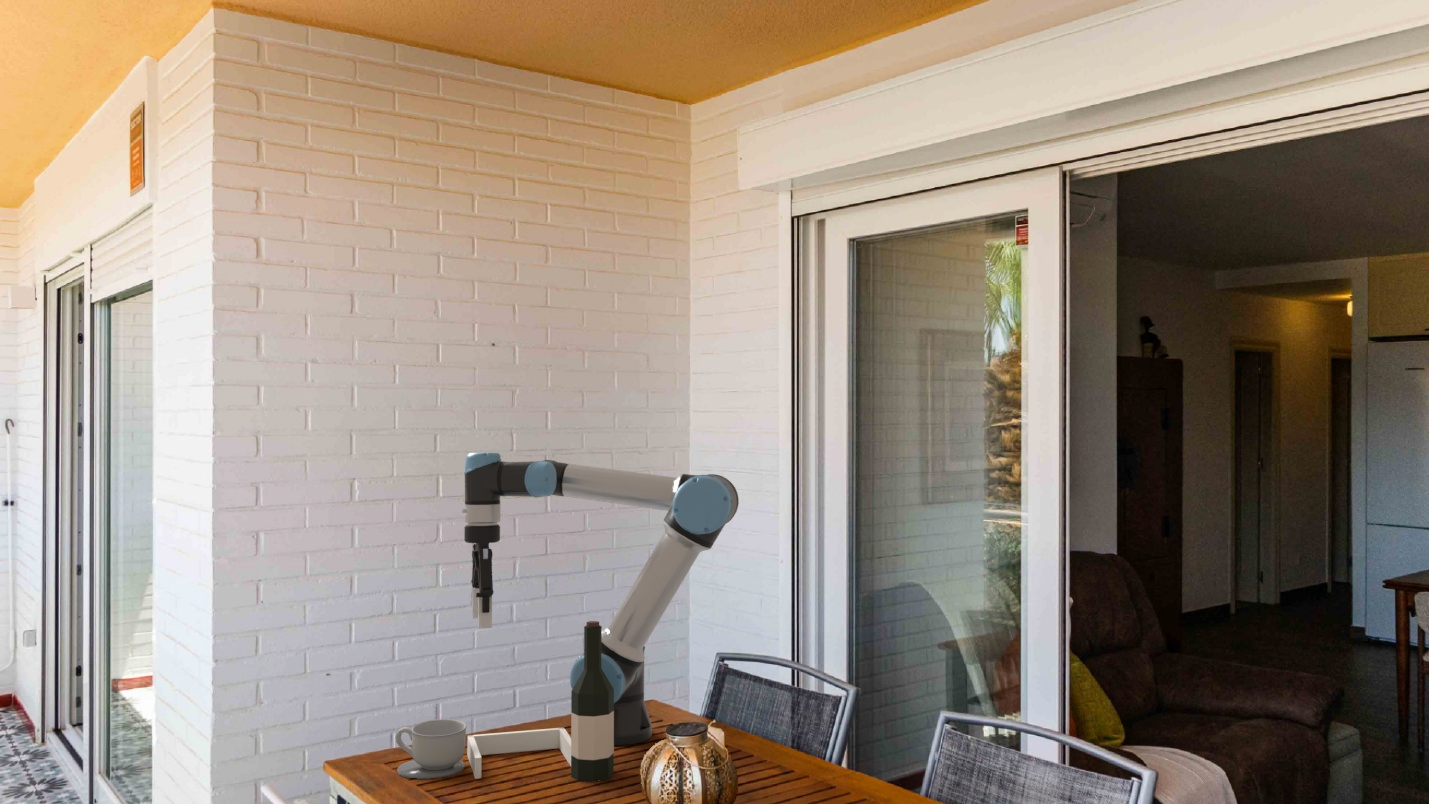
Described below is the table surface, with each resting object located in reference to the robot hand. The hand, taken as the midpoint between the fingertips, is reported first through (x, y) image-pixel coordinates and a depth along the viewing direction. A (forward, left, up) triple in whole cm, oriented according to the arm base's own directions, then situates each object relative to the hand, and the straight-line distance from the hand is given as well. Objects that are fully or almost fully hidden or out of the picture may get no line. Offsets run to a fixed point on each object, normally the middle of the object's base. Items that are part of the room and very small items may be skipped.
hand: (481, 623), depth 233 cm
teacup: (+11, +11, -26) cm, 31 cm away
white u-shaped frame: (-7, +13, -27) cm, 31 cm away
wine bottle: (-19, +26, -27) cm, 42 cm away
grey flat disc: (+11, +12, -27) cm, 31 cm away
